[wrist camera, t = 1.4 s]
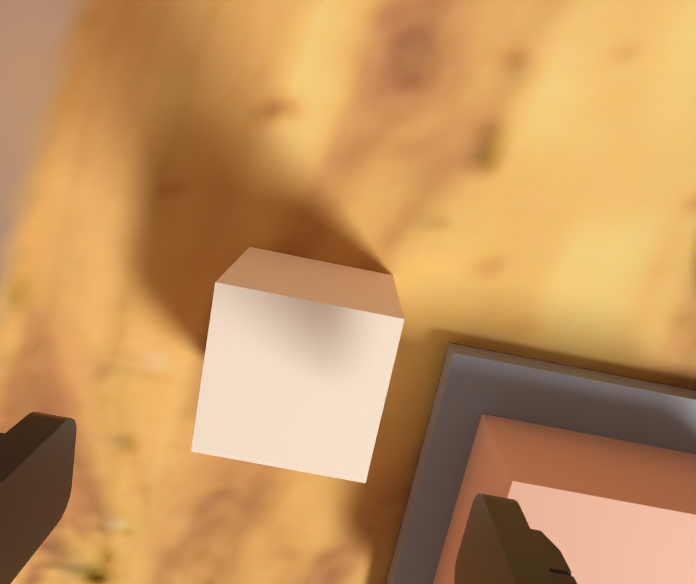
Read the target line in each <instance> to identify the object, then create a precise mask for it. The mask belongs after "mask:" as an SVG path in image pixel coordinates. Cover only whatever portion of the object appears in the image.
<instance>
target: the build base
mask: <svg viewBox="0 0 696 584" xmlns="http://www.w3.org/2000/svg"><path fill="white" fill-rule="evenodd" d="M479 493H481V494H487V495H492V496H498V497H503V498H509V499H514V500H516V501H517V502H518V503H519V505H520V507H521V510H522V512H523V514H524V516H525V518H526V520H527V522H528V525H529V527H530V529H534V530H540V531H542V532H543V533H544V534H545V536H546V537H547V538H548V539H549V540H550V541H551V542H552V543H553V544H554V545H555V546H556V547H557V548H558V549H559V550H560V551H561V553H562V555H563V557H564V559H565V561H566V563H567V565H568V566H569V568H570V570H571V576H573V577H574V578H575V580H576V582H577V584H696V391H695V390H690V389H685V388H680V387H675V386H670V385H664V384H659V383H654V382H649V381H644V380H639V379H634V378H628V377H623V376H618V375H613V374H608V373H603V372H598V371H592V370H587V369H582V368H577V367H572V366H567V365H561V364H556V363H551V362H546V361H541V360H536V359H531V358H525V357H520V356H515V355H510V354H505V353H500V352H494V351H489V350H484V349H479V348H474V347H469V346H464V345H458V344H453V343H449V346H448V350H447V354H446V357H445V361H444V365H443V369H442V373H441V376H440V380H439V384H438V388H437V392H436V395H435V399H434V403H433V407H432V411H431V414H430V418H429V422H428V426H427V430H426V433H425V437H424V441H423V445H422V449H421V452H420V456H419V460H418V464H417V468H416V471H415V475H414V479H413V483H412V487H411V490H410V494H409V498H408V502H407V506H406V509H405V513H404V517H403V521H402V525H401V528H400V532H399V536H398V540H397V544H396V547H395V551H394V555H393V559H392V563H391V566H390V570H389V574H388V578H387V582H386V584H454V574H455V564H456V559H457V555H458V551H459V548H460V544H461V541H462V538H463V534H464V531H465V527H466V524H467V520H468V517H469V513H470V510H471V506H472V503H473V500H474V498H475V496H476V495H477V494H479Z"/></svg>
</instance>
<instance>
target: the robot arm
mask: <svg viewBox="0 0 696 584" xmlns="http://www.w3.org/2000/svg"><path fill="white" fill-rule="evenodd" d="M75 441H76V422H75V420H74V419H72V418H67V417H61V416H56V415H50V414H45V413H39V412H32V413H30V414H28V415H27V416H26V417H25V418H23V419H22V420H21V421H20V422H18V423H17V424H16V425H15V426H14V427H12V428H11V429H10V430H9V431H8V432H6V433H5V434H4V433H0V584H10V583H11V582H12V581H13V580H14V578H15V577H16V576H17V575H18V573H19V572H20V571H21V569H22V568H23V567H24V566H25V564H26V563H27V562H28V560H29V559H30V558H31V557H32V555H33V554H34V553H35V552H36V550H37V549H38V548H39V546H40V545H41V544H42V543H43V541H44V540H45V539H46V538H47V536H48V535H49V534H50V532H51V531H52V530H53V529H54V527H55V526H56V525H57V523H58V522H59V521H60V519H61V517H62V515H63V513H64V511H65V509H66V507H67V504H68V501H69V497H70V493H71V487H72V475H73V464H74V452H75ZM454 584H577V582H576V580H575V578H574V577H573V576H571V570H570V568H569V566H568V565H567V563H566V561H565V559H564V557H563V555H562V553H561V551H560V550H559V549H558V548H557V547H556V546H555V545H554V544H553V543H552V542H551V541H550V540H549V539H548V538H547V537H546V536H545V534H544V533H543V532H542V531H540V530H534V529H530V527H529V525H528V522H527V520H526V518H525V516H524V514H523V512H522V510H521V507H520V505H519V503H518V502H517V501H516V500H514V499H509V498H503V497H498V496H492V495H487V494H481V493H479V494H477V495H476V496H475V498H474V500H473V503H472V506H471V510H470V513H469V517H468V520H467V524H466V527H465V531H464V534H463V538H462V541H461V544H460V548H459V551H458V555H457V559H456V564H455V574H454Z"/></svg>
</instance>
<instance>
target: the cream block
mask: <svg viewBox="0 0 696 584" xmlns="http://www.w3.org/2000/svg"><path fill="white" fill-rule="evenodd" d="M404 320H405V319H404V315H403V311H402V308H401V304H400V300H399V297H398V293H397V289H396V285H395V282H394V278H393V275H390V274H385V273H380V272H375V271H369V270H364V269H359V268H354V267H349V266H344V265H339V264H334V263H329V262H324V261H319V260H314V259H309V258H304V257H299V256H294V255H289V254H284V253H279V252H274V251H269V250H264V249H259V248H254V247H249V248H248V249H247V250H246V251H245V252H244V253H243V254H242V255H241V256H240V257H239V258H238V259H237V260H236V261H235V262H234V263H233V264H232V265H231V266H230V267H229V268H228V269H227V271H226V272H225V273H224V274H223V275H222V276H221V277H220V278H219V279H218V280H217V281H216V282H215V287H214V294H213V301H212V308H211V315H210V322H209V329H208V336H207V343H206V350H205V357H204V364H203V371H202V378H201V385H200V393H199V400H198V407H197V414H196V421H195V428H194V435H193V442H192V449H191V451H192V452H198V453H203V454H209V455H214V456H220V457H225V458H231V459H236V460H241V461H247V462H252V463H258V464H263V465H269V466H274V467H280V468H285V469H291V470H296V471H301V472H307V473H312V474H318V475H323V476H329V477H334V478H340V479H345V480H351V481H356V482H361V483H366V479H367V475H368V471H369V466H370V462H371V458H372V454H373V450H374V445H375V441H376V437H377V433H378V429H379V424H380V420H381V416H382V412H383V408H384V403H385V399H386V395H387V391H388V387H389V382H390V378H391V374H392V370H393V366H394V362H395V357H396V353H397V349H398V345H399V341H400V336H401V332H402V328H403V324H404Z"/></svg>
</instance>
